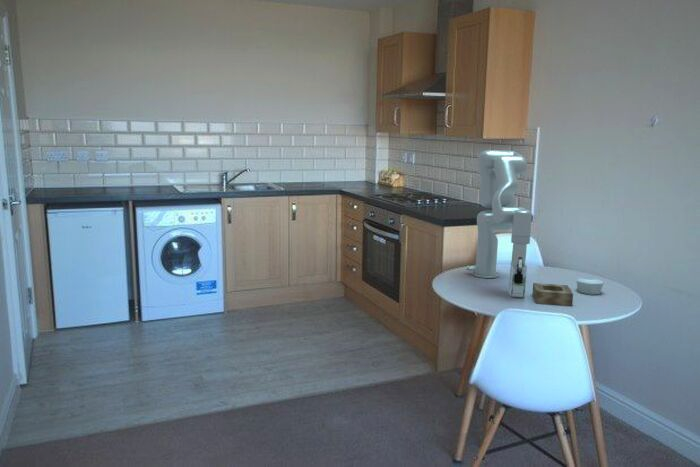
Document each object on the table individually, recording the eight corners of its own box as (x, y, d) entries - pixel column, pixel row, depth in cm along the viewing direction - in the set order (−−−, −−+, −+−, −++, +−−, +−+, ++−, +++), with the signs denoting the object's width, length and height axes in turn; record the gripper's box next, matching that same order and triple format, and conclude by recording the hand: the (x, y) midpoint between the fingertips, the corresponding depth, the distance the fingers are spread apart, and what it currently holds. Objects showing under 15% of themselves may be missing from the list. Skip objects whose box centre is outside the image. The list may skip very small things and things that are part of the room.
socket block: (535, 303, 238) (536, 291, 237) (532, 294, 252) (533, 282, 251) (572, 305, 235) (573, 293, 235) (566, 296, 249) (567, 285, 248)
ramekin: (595, 289, 263) (596, 277, 262) (607, 295, 252) (608, 284, 251) (571, 288, 263) (572, 277, 262) (581, 295, 252) (582, 283, 251)
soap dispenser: (521, 294, 251) (524, 261, 248) (524, 298, 245) (527, 264, 243) (508, 293, 251) (510, 260, 249) (510, 297, 246) (513, 263, 243)
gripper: (510, 235, 253) (507, 275, 256) (512, 242, 236) (509, 285, 240) (528, 236, 252) (524, 277, 255) (532, 243, 235) (528, 287, 238)
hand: (517, 280), depth 247 cm, fingers closed on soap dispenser, 6 cm apart
